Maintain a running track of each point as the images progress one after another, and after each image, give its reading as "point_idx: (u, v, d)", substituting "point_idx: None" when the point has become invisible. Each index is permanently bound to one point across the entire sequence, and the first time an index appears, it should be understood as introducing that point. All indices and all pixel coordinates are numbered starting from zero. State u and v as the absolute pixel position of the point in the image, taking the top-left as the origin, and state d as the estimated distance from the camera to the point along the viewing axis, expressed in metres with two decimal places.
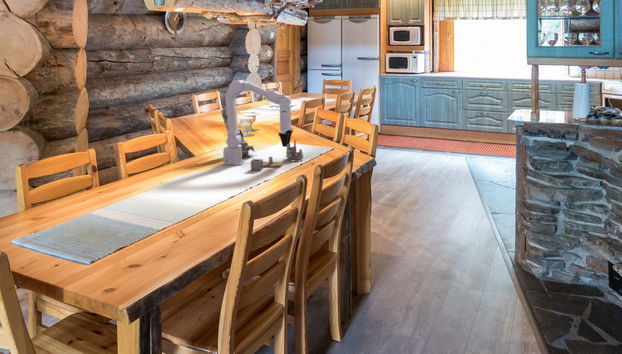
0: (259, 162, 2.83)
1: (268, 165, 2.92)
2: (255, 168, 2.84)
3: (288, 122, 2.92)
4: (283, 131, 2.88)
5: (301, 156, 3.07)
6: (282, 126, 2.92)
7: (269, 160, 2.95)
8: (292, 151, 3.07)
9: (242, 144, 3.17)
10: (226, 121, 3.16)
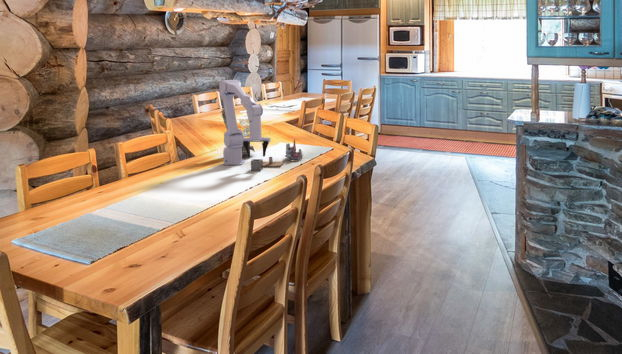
0: (259, 162, 2.83)
1: (268, 165, 2.92)
2: (255, 168, 2.84)
3: (250, 132, 2.80)
4: None
5: (300, 156, 3.07)
6: None
7: (269, 160, 2.95)
8: (291, 151, 3.07)
9: None
10: (226, 121, 3.16)
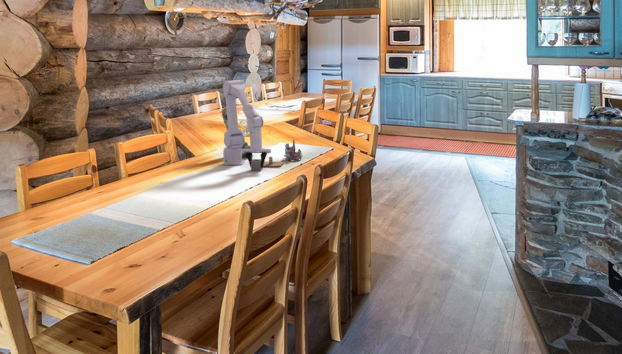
0: (259, 162, 2.83)
1: (268, 165, 2.92)
2: (255, 168, 2.84)
3: (251, 143, 2.82)
4: None
5: (300, 156, 3.08)
6: None
7: (269, 160, 2.95)
8: (291, 151, 3.07)
9: None
10: (226, 121, 3.16)
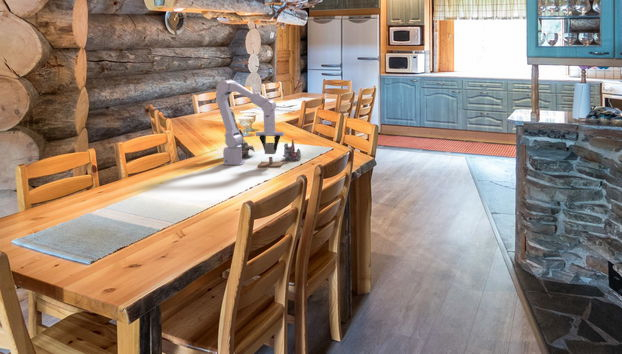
0: (272, 145, 2.91)
1: (268, 165, 2.92)
2: (269, 151, 2.92)
3: (265, 127, 2.90)
4: None
5: (298, 156, 3.08)
6: None
7: (269, 160, 2.95)
8: (290, 151, 3.08)
9: (242, 144, 3.17)
10: None
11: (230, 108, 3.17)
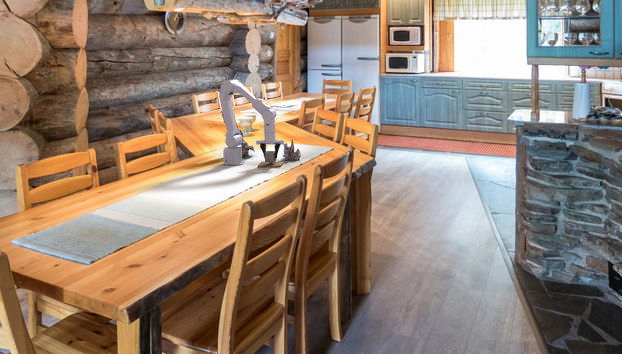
0: (272, 154, 2.92)
1: (268, 165, 2.92)
2: (269, 159, 2.93)
3: (265, 135, 2.91)
4: None
5: (298, 156, 3.08)
6: None
7: None
8: (289, 151, 3.08)
9: (242, 144, 3.17)
10: None
11: None
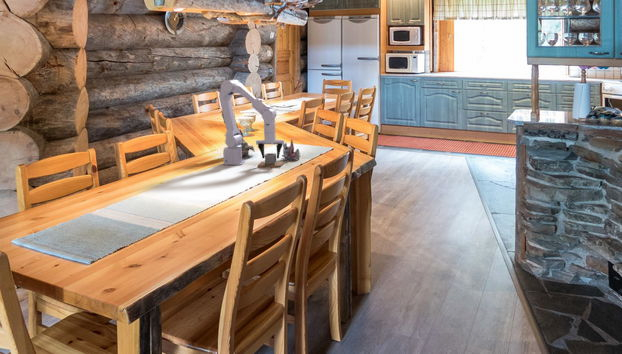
0: (273, 156, 2.92)
1: (268, 165, 2.92)
2: (269, 162, 2.93)
3: (265, 135, 2.91)
4: None
5: (297, 156, 3.08)
6: None
7: None
8: (288, 151, 3.08)
9: (242, 144, 3.17)
10: None
11: None
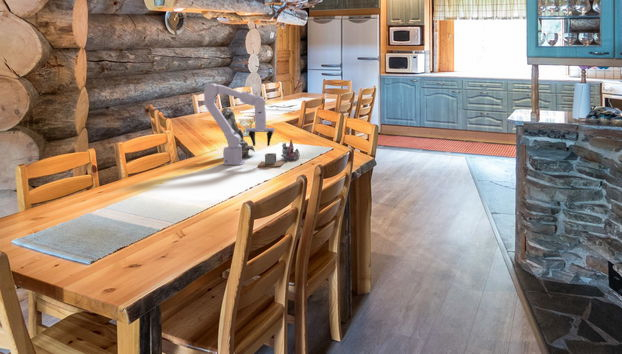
0: (273, 156, 2.92)
1: (268, 165, 2.92)
2: (269, 162, 2.93)
3: (255, 123, 2.96)
4: None
5: (296, 156, 3.08)
6: None
7: None
8: (288, 151, 3.08)
9: (242, 144, 3.17)
10: None
11: (230, 108, 3.17)
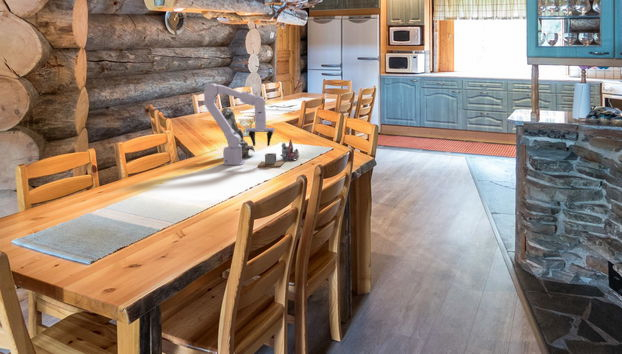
0: (273, 156, 2.92)
1: (268, 165, 2.92)
2: (269, 162, 2.93)
3: (255, 123, 2.96)
4: None
5: (296, 156, 3.08)
6: None
7: None
8: (287, 151, 3.09)
9: (242, 144, 3.17)
10: None
11: (230, 108, 3.17)
